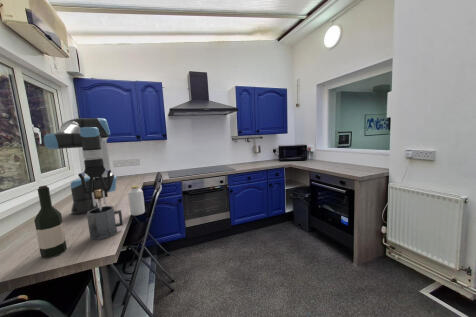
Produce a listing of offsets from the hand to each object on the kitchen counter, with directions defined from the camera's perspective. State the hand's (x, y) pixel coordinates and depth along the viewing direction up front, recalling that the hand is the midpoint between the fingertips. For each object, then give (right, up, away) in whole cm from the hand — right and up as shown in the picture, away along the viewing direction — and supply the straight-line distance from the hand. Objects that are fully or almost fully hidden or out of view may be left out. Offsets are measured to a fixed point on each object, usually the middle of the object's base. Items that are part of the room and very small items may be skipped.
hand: (99, 204), depth 98 cm
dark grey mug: (+2, -16, +2) cm, 16 cm away
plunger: (+1, -11, +1) cm, 11 cm away
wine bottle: (-11, -18, -13) cm, 25 cm away
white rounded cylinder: (+5, -13, +28) cm, 31 cm away
